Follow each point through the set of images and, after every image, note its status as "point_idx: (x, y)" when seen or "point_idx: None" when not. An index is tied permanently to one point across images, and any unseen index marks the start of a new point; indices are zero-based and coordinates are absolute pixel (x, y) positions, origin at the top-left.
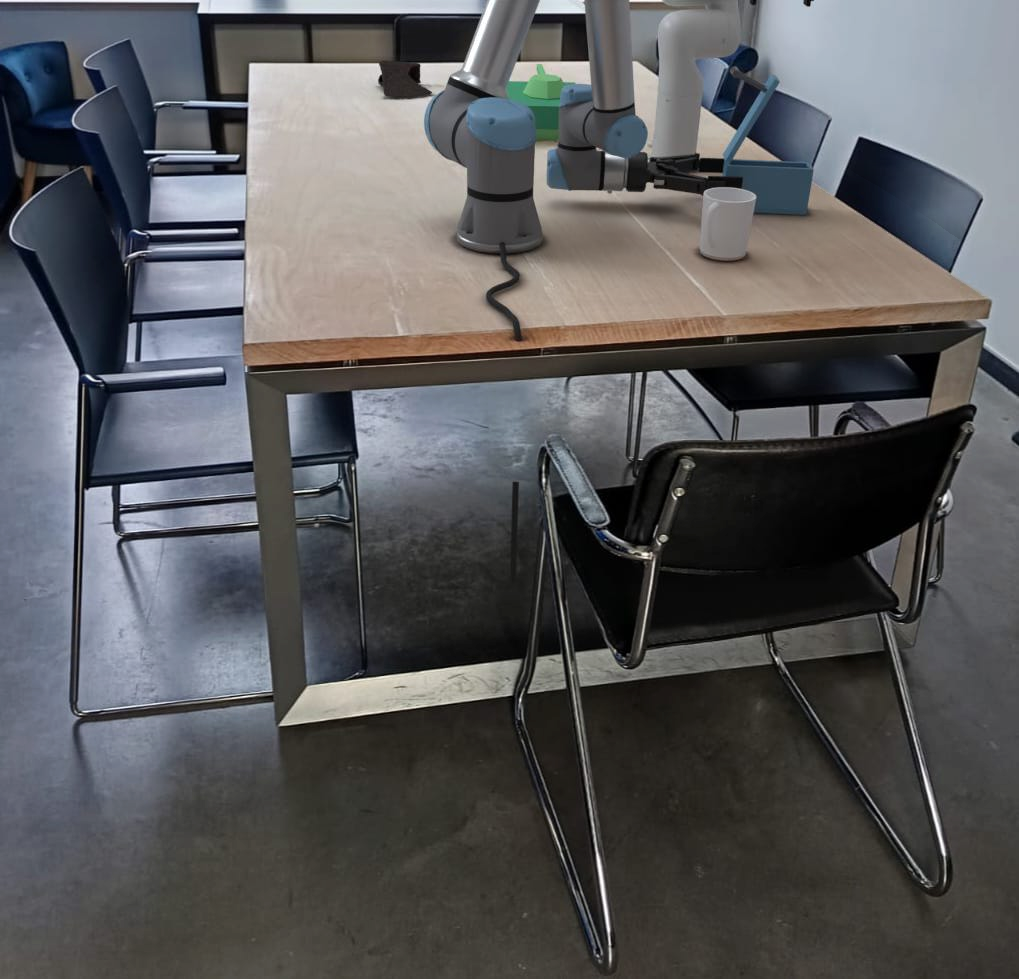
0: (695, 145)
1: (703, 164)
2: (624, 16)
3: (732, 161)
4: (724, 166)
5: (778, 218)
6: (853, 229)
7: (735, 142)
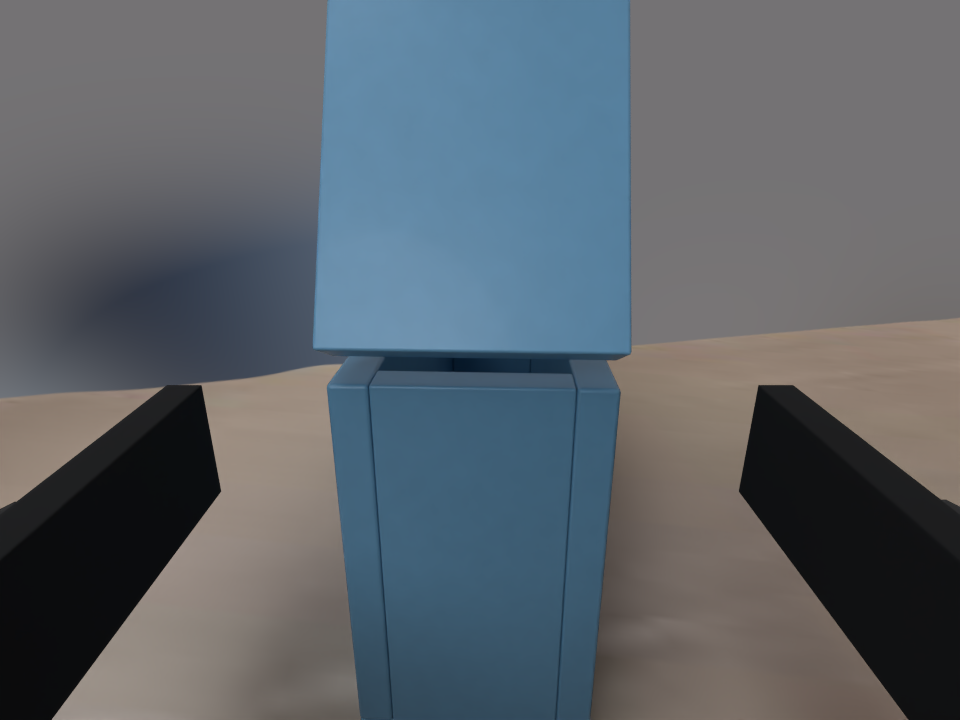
0: None
1: (15, 640)
2: None
3: (385, 369)
4: (406, 444)
5: (622, 489)
6: (660, 368)
7: (591, 122)
